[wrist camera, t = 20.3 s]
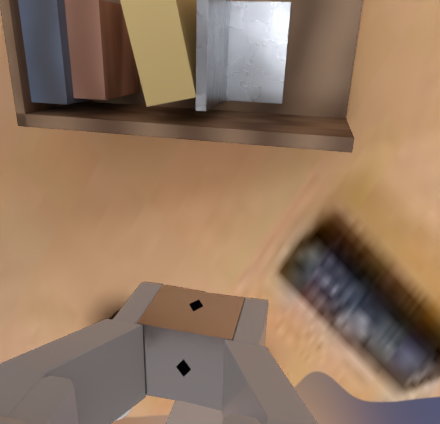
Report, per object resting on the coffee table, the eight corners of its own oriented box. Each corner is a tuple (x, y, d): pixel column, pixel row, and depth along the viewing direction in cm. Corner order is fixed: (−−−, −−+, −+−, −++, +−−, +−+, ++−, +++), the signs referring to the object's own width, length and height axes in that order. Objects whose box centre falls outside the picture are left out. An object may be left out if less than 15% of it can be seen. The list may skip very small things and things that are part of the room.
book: (179, 96, 38) (146, 106, 31) (158, 3, 36) (117, -9, 29) (219, 88, 37) (196, 97, 30) (201, -8, 35) (170, -24, 28)
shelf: (82, 109, 42) (18, 125, 33) (71, -11, 38) (-6, -31, 29) (343, 127, 37) (351, 152, 28) (363, -9, 33) (380, -32, 24)
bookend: (219, 99, 38) (195, 110, 30) (222, 1, 35) (196, -12, 27) (282, 103, 36) (273, 115, 29) (291, 2, 34) (284, -11, 26)
